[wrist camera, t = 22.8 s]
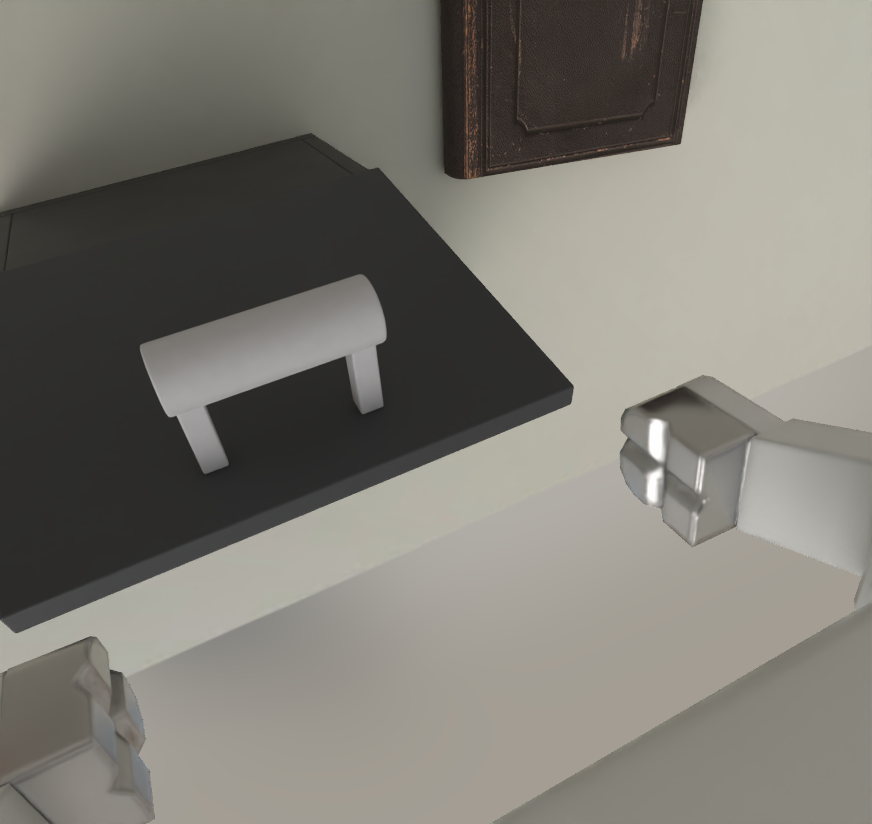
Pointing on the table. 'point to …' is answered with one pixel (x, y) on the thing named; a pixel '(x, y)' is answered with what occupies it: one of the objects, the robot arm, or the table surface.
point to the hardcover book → (562, 80)
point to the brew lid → (237, 383)
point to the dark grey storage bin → (166, 198)
